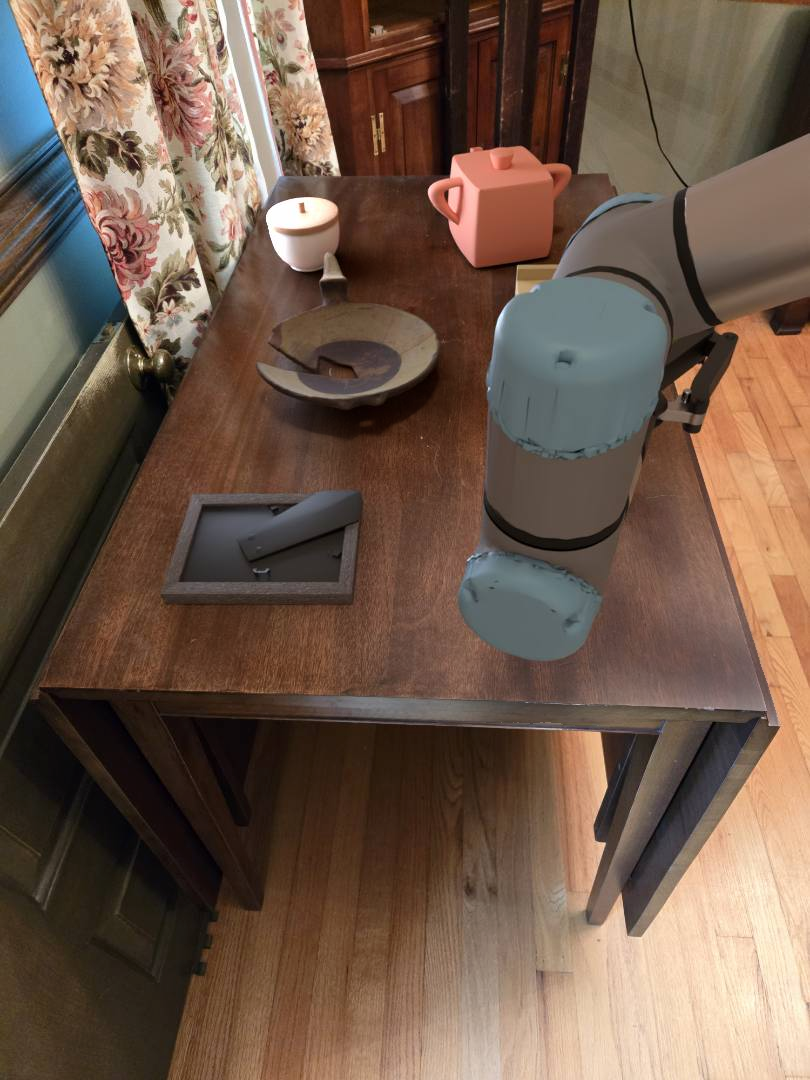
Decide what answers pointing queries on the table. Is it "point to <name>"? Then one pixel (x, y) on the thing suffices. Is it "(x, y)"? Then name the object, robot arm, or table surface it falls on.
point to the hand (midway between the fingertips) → (649, 285)
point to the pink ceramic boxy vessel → (500, 204)
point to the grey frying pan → (351, 348)
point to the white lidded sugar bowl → (304, 231)
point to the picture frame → (267, 549)
